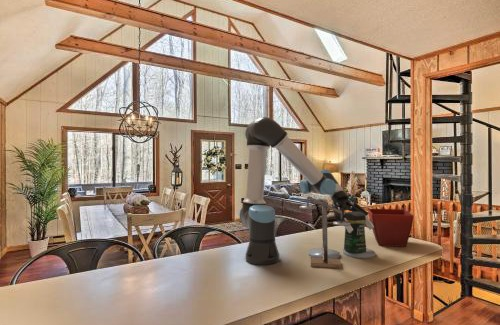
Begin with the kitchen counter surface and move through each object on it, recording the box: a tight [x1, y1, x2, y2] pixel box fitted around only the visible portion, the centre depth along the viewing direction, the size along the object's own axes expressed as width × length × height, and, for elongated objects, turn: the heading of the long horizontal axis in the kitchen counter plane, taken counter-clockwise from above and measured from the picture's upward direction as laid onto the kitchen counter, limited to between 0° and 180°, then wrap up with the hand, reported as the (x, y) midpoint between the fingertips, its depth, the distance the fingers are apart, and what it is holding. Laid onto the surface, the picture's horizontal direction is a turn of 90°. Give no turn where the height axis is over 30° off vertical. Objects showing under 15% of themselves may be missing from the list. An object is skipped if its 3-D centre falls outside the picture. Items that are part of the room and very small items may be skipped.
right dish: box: [342, 247, 376, 259], centre depth 132 cm, size 14×14×1 cm
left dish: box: [308, 247, 341, 259], centre depth 130 cm, size 14×14×1 cm
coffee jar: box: [343, 211, 367, 253], centre depth 132 cm, size 10×8×19 cm
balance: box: [299, 195, 351, 269], centre depth 118 cm, size 21×7×29 cm, turn 78°
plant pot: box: [367, 208, 414, 247], centre depth 150 cm, size 19×19×17 cm
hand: (361, 229), depth 130 cm, fingers open, 13 cm apart
